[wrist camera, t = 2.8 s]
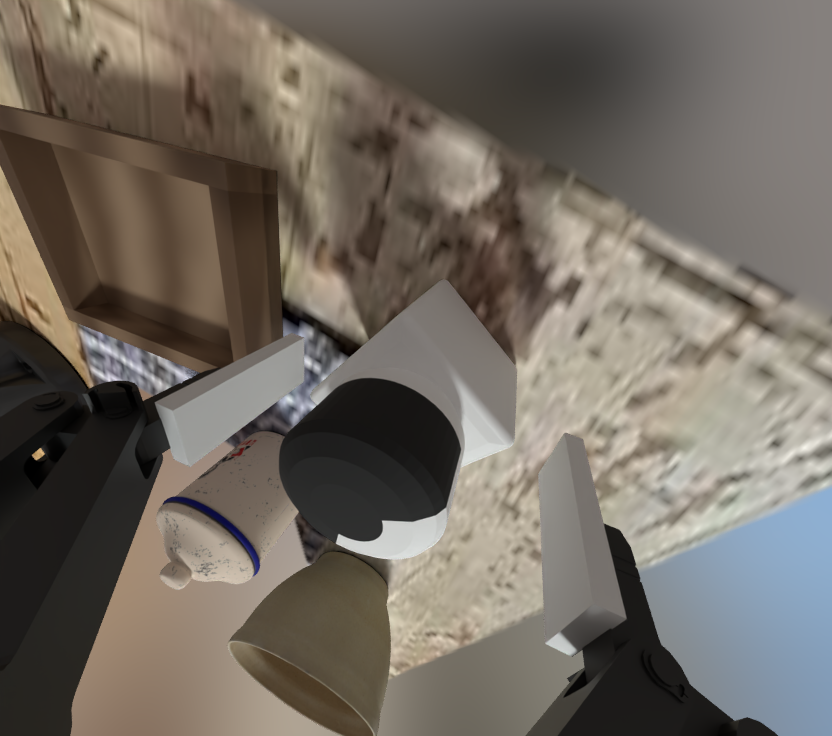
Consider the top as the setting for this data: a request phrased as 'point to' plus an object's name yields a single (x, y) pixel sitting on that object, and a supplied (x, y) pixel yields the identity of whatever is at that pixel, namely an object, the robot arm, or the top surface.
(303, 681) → the planter bowl
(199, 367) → the holder tray
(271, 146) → the top surface
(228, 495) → the teacup with lid
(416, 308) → the medicine bottle
